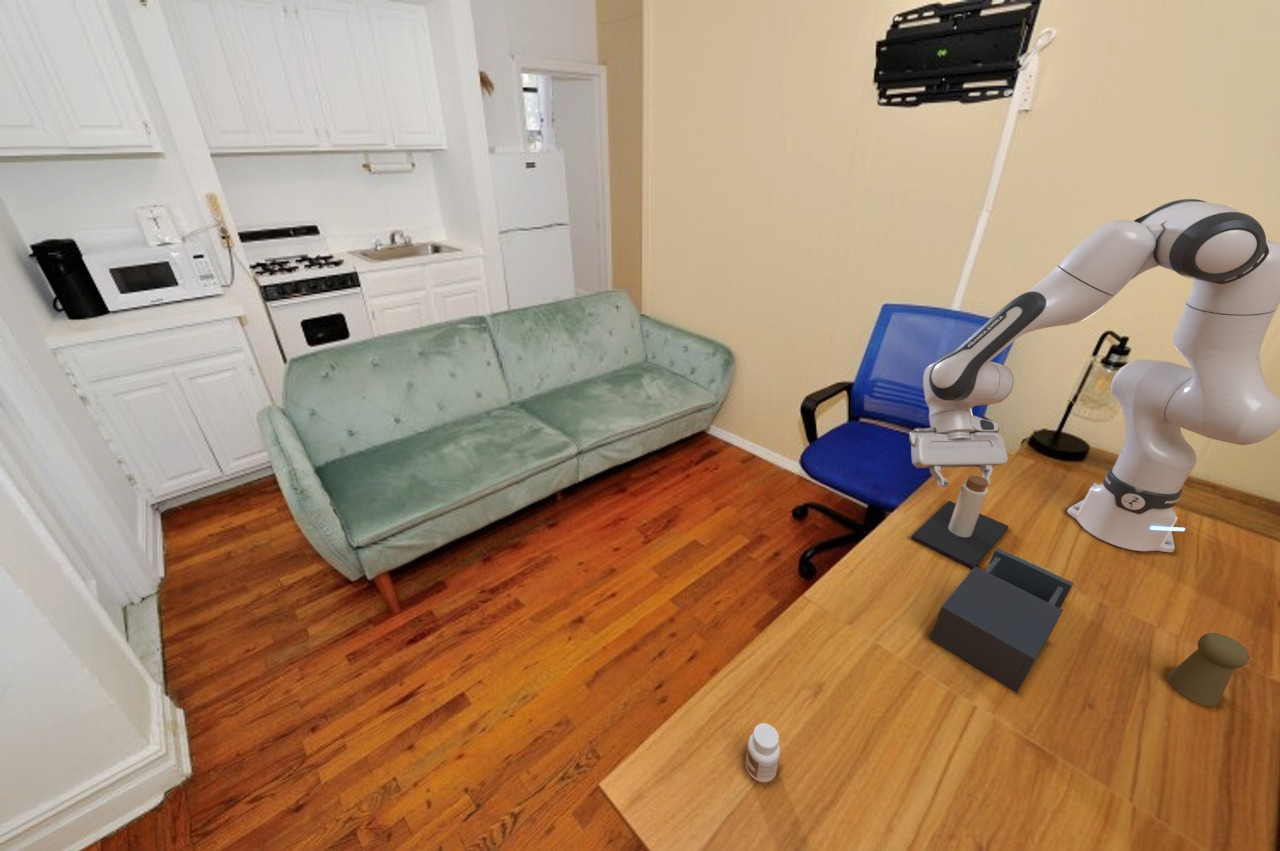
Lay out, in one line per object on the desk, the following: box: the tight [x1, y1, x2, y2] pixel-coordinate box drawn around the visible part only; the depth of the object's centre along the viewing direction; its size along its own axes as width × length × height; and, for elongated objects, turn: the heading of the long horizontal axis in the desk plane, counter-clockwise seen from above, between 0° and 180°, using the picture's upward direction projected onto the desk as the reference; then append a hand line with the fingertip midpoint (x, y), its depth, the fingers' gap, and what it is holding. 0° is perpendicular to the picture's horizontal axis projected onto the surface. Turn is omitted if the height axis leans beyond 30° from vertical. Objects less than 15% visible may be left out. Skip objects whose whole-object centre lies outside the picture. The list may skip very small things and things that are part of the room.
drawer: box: [984, 547, 1074, 609], centre depth 96 cm, size 18×13×6 cm
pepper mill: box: [948, 475, 989, 537], centre depth 112 cm, size 5×5×14 cm
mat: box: [910, 500, 1009, 570], centre depth 116 cm, size 20×13×1 cm, turn 130°
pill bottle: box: [745, 722, 781, 783], centre depth 71 cm, size 4×4×8 cm
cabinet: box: [929, 566, 1064, 694], centre depth 89 cm, size 15×14×8 cm
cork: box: [1167, 632, 1250, 707], centre depth 79 cm, size 6×6×11 cm
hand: (964, 486), depth 114 cm, fingers open, 8 cm apart
